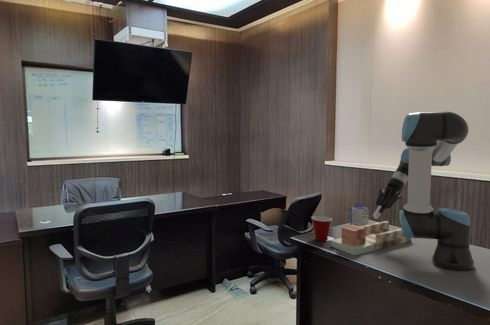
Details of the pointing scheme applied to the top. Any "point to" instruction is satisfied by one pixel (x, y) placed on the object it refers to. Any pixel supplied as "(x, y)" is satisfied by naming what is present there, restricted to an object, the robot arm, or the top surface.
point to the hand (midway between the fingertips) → (375, 217)
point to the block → (353, 235)
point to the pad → (352, 247)
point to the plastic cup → (321, 227)
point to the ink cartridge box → (359, 215)
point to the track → (384, 235)
